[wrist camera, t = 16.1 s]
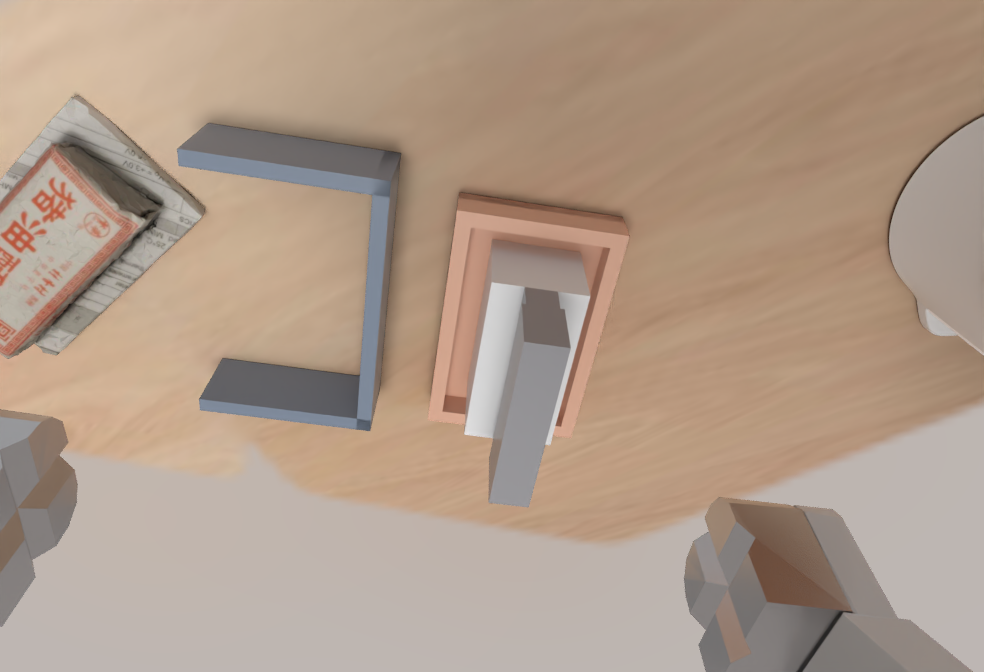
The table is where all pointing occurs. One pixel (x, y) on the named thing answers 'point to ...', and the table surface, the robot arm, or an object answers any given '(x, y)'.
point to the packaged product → (80, 227)
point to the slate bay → (376, 175)
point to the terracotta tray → (466, 277)
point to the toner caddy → (523, 359)
